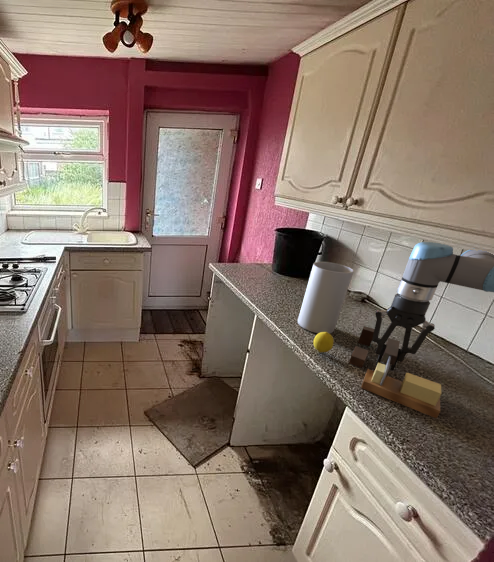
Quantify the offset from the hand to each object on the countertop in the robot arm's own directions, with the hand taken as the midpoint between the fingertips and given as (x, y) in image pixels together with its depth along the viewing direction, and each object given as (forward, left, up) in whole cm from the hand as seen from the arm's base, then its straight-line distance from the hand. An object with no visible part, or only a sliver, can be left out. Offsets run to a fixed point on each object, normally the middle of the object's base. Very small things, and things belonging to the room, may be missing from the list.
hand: (384, 365), depth 96 cm
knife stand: (+7, -8, -2) cm, 10 cm away
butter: (-8, +10, 0) cm, 13 cm away
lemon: (+17, +2, -2) cm, 17 cm away
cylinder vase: (+23, -17, -2) cm, 28 cm away
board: (-4, +10, -2) cm, 11 cm away
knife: (0, +4, +1) cm, 4 cm away
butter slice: (+1, +10, 0) cm, 10 cm away
